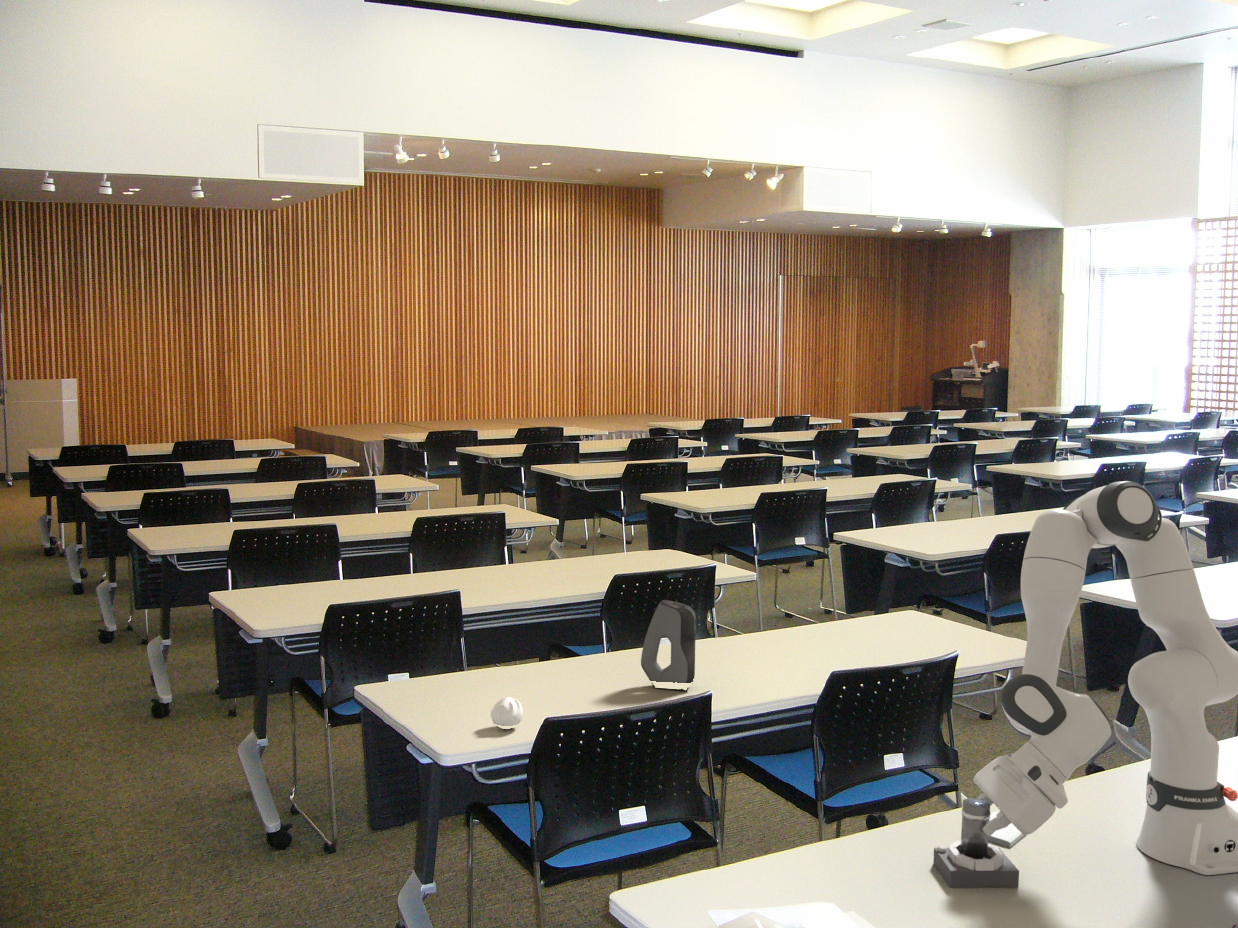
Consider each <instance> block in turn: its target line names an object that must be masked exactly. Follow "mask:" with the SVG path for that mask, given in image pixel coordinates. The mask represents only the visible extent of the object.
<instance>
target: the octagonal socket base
mask: <svg viewBox="0 0 1238 928" xmlns="http://www.w3.org/2000/svg"><path fill="white" fill-rule="evenodd" d="M933 865H934V867H935V868H936V869H937V872H938V873H940V875H941V877H942V878H943V880H944V881H945V882H946V884H947V886H948V887H949V888H952V889H954V888H959V889H961V888H963V889H964V888H967V889H968V888H973V889H974V888H978V889H979V888H984V889H985V888H986V889H987V888H994V889H995V888H997V889H998V888H1001V889H1003V888H1007V889H1008V888H1010V889H1011V888H1012V889H1013V888H1016V889H1017V888H1019V885H1020V883H1019V882H1020V870H1019V869H1018V868H1017V867H1016V865H1014V863H1013V862H1012V860H1010V858H1009V857H1008V856H1007V855H1006V854H1005V852H1004V851H1003V850H1002V849H1001V848H1000V847H998V846H996V845H993V844H990V843H988V855H987V856H986V857H984V858H972V857H969V856H966V855H964V854H963V853H962V852H961V839H958V840H955V841H954V842H952V843H951V844H949V845H948V847H946V846H944V845H938V846H936V847H933Z"/></svg>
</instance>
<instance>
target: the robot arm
mask: <svg viewBox="0 0 1238 928" xmlns="http://www.w3.org/2000/svg"><path fill="white" fill-rule="evenodd" d="M1112 546H1115V547H1116V548H1117V549H1118V550H1119V551H1120V552H1121V554H1122V555H1123V558H1124V559H1125V561H1126V566H1127V570H1128V572H1127V573H1128V575H1129V580H1130V584H1131V586H1132V591H1133V596H1134V599H1135V602H1136V603H1135V604H1136V607H1137V610H1138V614H1139V618H1140V620H1141V621H1142V622H1143V623H1144V624H1145V625H1146V626H1147V627H1149V628H1151V629H1152V630H1153V631H1154V632H1155V633H1156V634H1157V635H1158V637H1159V639H1160V640H1161V642H1162V643H1163V646H1164V647H1165V649H1166V650H1161V651H1157V652H1153V653H1151V654H1149V655H1147V656H1145V657H1143V658H1141V659H1140V660H1138V661H1136V662H1135V663H1134V664H1133V665H1132V666H1131V668H1130V670H1129V673H1128V677H1127V683H1128V688H1129V689H1128V690H1129V691H1130V694H1131V696H1132V698H1134V701H1136V702H1137V704H1139V706H1140V707H1142V708H1143V710H1144V712H1145V714H1146V716H1147V719H1148V724H1149V729H1150V736H1151V737H1150V740H1151V743H1150V744H1151V745H1150V767H1149V769H1150V770H1149V771H1148V772H1147V778H1146V788H1145V789H1146V791H1145V792H1146V793H1145V798H1146V799H1145V800H1146V801H1145V802H1146V807H1145V814H1144V819H1143V822H1142V826H1141V829H1140V831H1139V835H1138V837H1137V839H1136V846H1137V848H1138V849H1139V850H1140V851H1141V852H1143V854H1145V855H1146V856H1148V857H1150V858H1152V859H1154V860H1156V861H1159V862H1162V863H1164V864H1167V865H1171V866H1175V867H1180V868H1182V869H1186V870H1188V871H1193V872H1194V873H1198V874H1201V875H1204V876H1212V875H1213V876H1214V875H1222V874H1223V875H1224V874H1229V873H1230V874H1231V873H1233V874H1234V873H1238V811H1236V810H1235V809H1234V808H1232V807H1231V806H1230V805H1229V804H1228V803H1226V800H1225V798H1226V799H1227V800H1229V801H1230V802H1236V801H1237V799H1238V792H1237V791H1236V790H1234V789H1233V788H1232V787H1229V786H1227V787H1225V785H1223V784H1222V782H1219V781H1218V772H1219V754H1220V745H1219V743H1218V740H1217V738H1216V737H1215V736H1214V735H1212V733H1210V732H1209V731H1208V729H1207V725H1206V720H1205V709H1206V707H1207V706H1212V705H1217V704H1222V703H1225V702H1228V701H1229V700H1231V699H1233V698H1235V697H1236V696H1238V651H1237V650H1236V649H1234V648H1232V647H1231V646H1230V645H1229V644H1228V643H1227V642H1226V640H1225V639H1224V638H1223V637H1222V635H1221V634H1220V632H1219V631H1218V629H1217V628H1216V626H1215V625H1214V623H1213V621H1212V619H1211V617H1210V615H1209V613H1208V611H1207V608H1206V606H1205V603H1204V599H1203V597H1202V592H1201V590H1200V587H1199V582H1198V579H1197V575H1196V572H1195V569H1194V565H1193V563H1192V558H1191V556H1190V553H1189V550H1188V548H1187V545H1186V542H1185V540H1184V538H1183V537H1182V534H1181V533H1180V530H1179V529H1178V527H1177V525H1176V523H1175V522H1174V521H1172V520H1170V519H1168V518H1166V517H1163V515H1162V511H1161V510H1160V508H1159V507H1158V504H1157V501H1156V499H1155V497H1154V496H1153V495H1152V494H1151V492H1150V490H1148V489H1147V487H1145V486H1143V484H1142V485H1141V484H1140V483H1139V482H1135V481H1129V480H1124V481H1121V480H1120V481H1115V482H1114V481H1113V482H1111V483H1109V484H1107V485H1103V486H1100V487H1097V488H1093V489H1091V490H1089V491H1087V492H1086V493H1085V494H1083V495H1081V496H1080V497H1077V498H1074V499H1072V500H1071V501H1070V502H1068V503H1067V504H1066V505H1065V506H1064V507H1063V508H1062V509H1060V508H1054V509H1048V510H1045V511H1042V512H1041V513H1040V514H1039V515H1038V516H1037V517H1036V519H1035V521H1034V523H1033V525H1032V528H1031V530H1030V533H1029V535H1028V539H1027V542H1026V546H1025V549H1024V553H1023V554H1024V555H1023V560H1022V566H1021V572H1020V597H1021V602H1022V606H1023V611H1024V615H1025V619H1026V627H1027V629H1026V630H1027V640H1026V646H1025V653H1024V658H1023V660H1024V661H1023V665H1022V672H1021V674H1019V675H1016V676H1014V677H1012V678H1010V679H1009V680H1008V681H1007V682H1006V683H1005V685H1004V686H1003V689H1002V691H1001V696H1000V698H1001V700H1000V701H1001V706H1002V709H1003V712H1004V714H1005V718H1006V721H1007V723H1008V726H1009V728H1010V729H1011V730H1012V731H1013V732H1014V733H1015V734H1016V735H1018V736H1019V737H1021V738H1024V739H1026V740H1028V741H1026V742H1025V743H1024V744H1023V745H1022V746H1021V747H1020V748H1018V750H1017V751H1016V752H1012V753H1009V754H1004V755H1000V756H998V757H996V758H994V759H993V760H991V761H990V762H989V763H988V764H986V765H985V766H983V768H981V769H980V770H979V771H978V772H976V774H975V775H974V778H973V782H974V784H976V785H977V787H978V788H979V789H980V790H981V791H982V793H981V794H980V795H978V796H977V799H981V800H984V801H986V802H988V803H989V804H990V807H991V806H992V805H995V807H997V808H998V810H999V811H998V812H999V813H998V814H997V815H996V816H997V817H996V818H994V819H992V820H990V821H989V822H988V821H987V820H986V821H985V822H984V823H983V824H982V825H981V829H982V830H983V831H984V832H985V833H986V834H987V835H988V836H991V835H992V834H993V833H994V832H995V831H996V830H1000V829H1002V828H1005V827H1007V826H1008V825H1009V824H1010V823H1012V824H1013V825H1014V826H1015V827H1016V828H1017V829H1018V830H1019V831H1020V832H1021V833H1022V834H1023V835H1025V836H1027V835H1028V836H1029V835H1031V834H1032V833H1034V832H1036V831H1037V830H1038V829H1040V827H1042V826H1043V825H1044V824H1045V823H1046V822H1047V821H1049V819H1050V818H1052V816H1053V815H1054V814H1055V812H1056V809H1060V810H1061V809H1062V808H1064V807H1065V806H1066V805H1067V804H1068V802H1069V799H1068V796H1067V792H1066V790H1065V786H1064V783H1066V782H1067V781H1068V780H1069V778H1070V777H1071V776H1072V774H1073V773H1074V771H1075V770H1076V769H1077V768H1079V767H1080V766H1082V765H1084V764H1086V763H1087V762H1088V761H1089V760H1090V759H1092V757H1094V755H1096V754H1097V753H1098V752H1099V750H1100V749H1101V748H1103V746H1104V745H1105V744H1106V742H1108V740H1109V739H1110V737H1111V735H1112V724H1111V721H1110V719H1109V717H1108V716H1107V714H1106V712H1105V711H1104V710H1103V708H1102V707H1101V706H1100V705H1099V702H1097V701H1096V700H1095V699H1094V698H1093V697H1092V696H1090V695H1088V694H1084V693H1077V692H1073V691H1070V690H1067V689H1064V688H1062V687H1060V686H1058V676H1059V671H1060V666H1061V665H1060V664H1061V656H1062V651H1063V645H1064V640H1065V636H1066V634H1067V631H1068V628H1069V626H1070V622H1071V620H1072V618H1073V615H1074V613H1075V610H1076V608H1077V605H1078V602H1079V599H1080V597H1081V593H1082V589H1083V586H1084V582H1085V577H1086V571H1087V565H1088V563H1087V562H1088V556H1089V554H1090V552H1091V551H1096V550H1097V551H1098V550H1099V549H1103V548H1108V547H1112Z"/></svg>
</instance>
